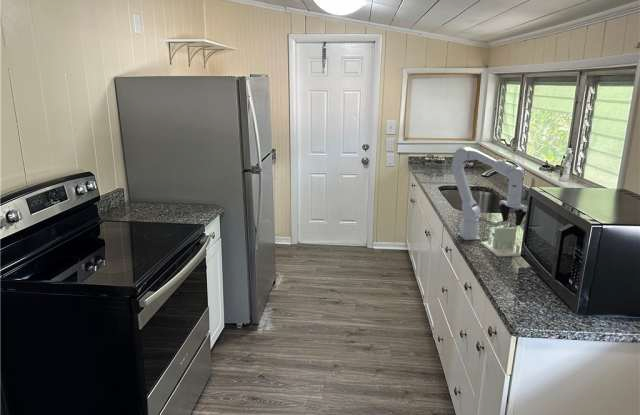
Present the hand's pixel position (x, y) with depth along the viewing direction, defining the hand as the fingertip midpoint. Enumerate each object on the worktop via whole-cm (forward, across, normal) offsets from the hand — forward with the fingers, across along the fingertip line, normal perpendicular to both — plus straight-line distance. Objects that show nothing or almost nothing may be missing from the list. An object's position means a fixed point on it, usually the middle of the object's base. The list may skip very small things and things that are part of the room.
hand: (511, 223), depth 201 cm
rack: (+10, +4, -8) cm, 13 cm away
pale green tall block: (+9, +4, -8) cm, 13 cm away
